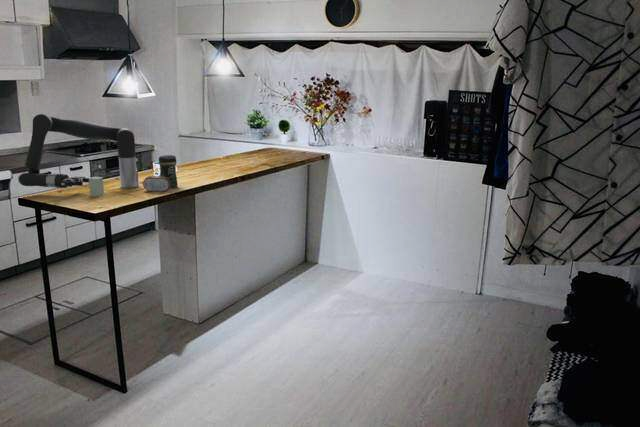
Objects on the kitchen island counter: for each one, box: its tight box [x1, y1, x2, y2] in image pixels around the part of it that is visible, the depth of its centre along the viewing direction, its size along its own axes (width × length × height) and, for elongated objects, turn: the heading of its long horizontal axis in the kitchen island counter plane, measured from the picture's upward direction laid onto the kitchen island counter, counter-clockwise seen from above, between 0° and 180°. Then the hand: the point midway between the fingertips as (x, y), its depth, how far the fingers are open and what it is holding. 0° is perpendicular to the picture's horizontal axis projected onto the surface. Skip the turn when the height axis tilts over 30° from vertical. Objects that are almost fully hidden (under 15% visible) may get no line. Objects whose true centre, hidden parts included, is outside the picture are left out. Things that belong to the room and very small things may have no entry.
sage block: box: [88, 176, 105, 197], centre depth 283 cm, size 5×5×10 cm
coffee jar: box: [158, 154, 178, 189], centre depth 306 cm, size 10×8×19 cm
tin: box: [142, 175, 171, 193], centre depth 296 cm, size 15×3×8 cm, turn 92°
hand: (86, 182), depth 282 cm, fingers open, 8 cm apart
